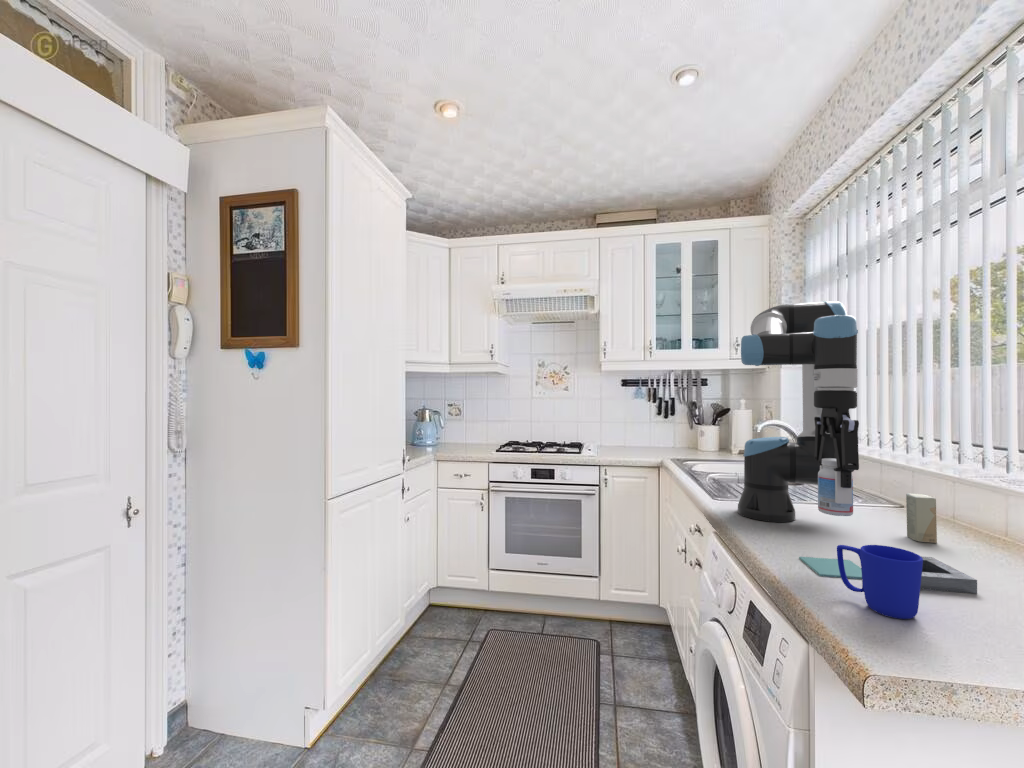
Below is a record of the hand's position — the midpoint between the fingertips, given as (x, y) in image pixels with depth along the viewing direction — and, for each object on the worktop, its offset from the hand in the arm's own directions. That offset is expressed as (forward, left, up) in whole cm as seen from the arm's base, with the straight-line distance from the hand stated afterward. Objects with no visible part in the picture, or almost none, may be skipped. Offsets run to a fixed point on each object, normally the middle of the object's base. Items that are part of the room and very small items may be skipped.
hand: (835, 499), depth 97 cm
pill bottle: (0, 0, -3) cm, 3 cm away
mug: (+18, -1, -15) cm, 23 cm away
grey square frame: (+2, +14, -14) cm, 20 cm away
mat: (0, 0, -14) cm, 14 cm away
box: (-26, +31, -15) cm, 43 cm away
